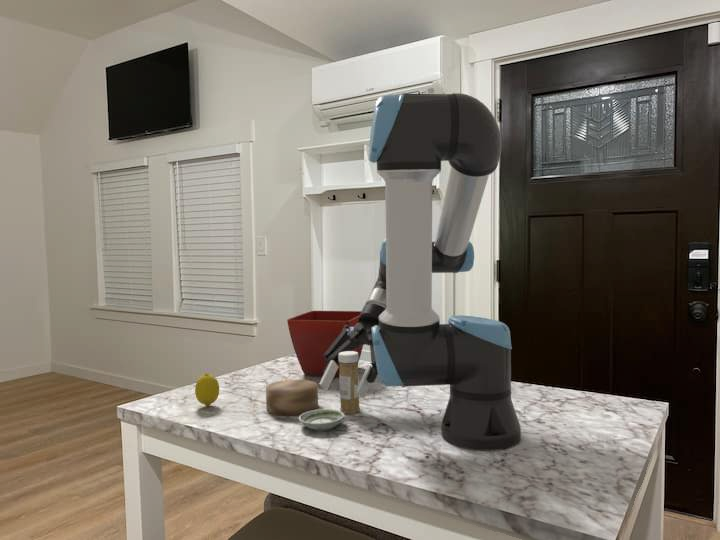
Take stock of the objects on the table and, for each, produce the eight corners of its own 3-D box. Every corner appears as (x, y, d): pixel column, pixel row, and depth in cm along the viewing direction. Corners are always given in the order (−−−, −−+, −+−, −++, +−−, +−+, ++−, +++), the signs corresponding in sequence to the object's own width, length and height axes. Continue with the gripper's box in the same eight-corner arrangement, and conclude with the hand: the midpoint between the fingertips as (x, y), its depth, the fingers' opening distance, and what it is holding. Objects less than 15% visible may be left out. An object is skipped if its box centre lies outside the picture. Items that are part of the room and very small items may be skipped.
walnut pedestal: (328, 404, 126) (328, 383, 126) (294, 419, 116) (293, 396, 116) (290, 397, 133) (290, 377, 132) (255, 410, 123) (254, 388, 123)
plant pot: (287, 377, 153) (285, 318, 152) (313, 362, 171) (312, 310, 170) (350, 381, 147) (348, 320, 146) (370, 365, 165) (369, 311, 164)
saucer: (334, 416, 118) (334, 405, 118) (352, 430, 109) (351, 418, 109) (292, 423, 114) (292, 412, 114) (307, 438, 105) (307, 426, 105)
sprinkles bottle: (363, 411, 120) (362, 353, 119) (345, 415, 118) (344, 355, 117) (353, 406, 124) (352, 349, 123) (336, 410, 122) (334, 352, 121)
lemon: (213, 410, 123) (211, 376, 123) (191, 409, 124) (190, 376, 124) (223, 403, 129) (222, 370, 128) (202, 402, 130) (201, 370, 129)
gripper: (424, 324, 126) (390, 407, 114) (348, 317, 139) (310, 392, 127) (412, 304, 121) (376, 389, 109) (335, 299, 134) (295, 375, 122)
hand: (341, 390), depth 118 cm, fingers open, 10 cm apart
